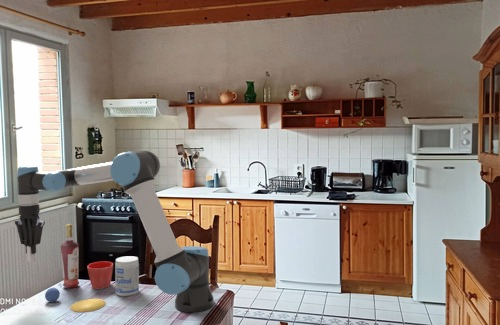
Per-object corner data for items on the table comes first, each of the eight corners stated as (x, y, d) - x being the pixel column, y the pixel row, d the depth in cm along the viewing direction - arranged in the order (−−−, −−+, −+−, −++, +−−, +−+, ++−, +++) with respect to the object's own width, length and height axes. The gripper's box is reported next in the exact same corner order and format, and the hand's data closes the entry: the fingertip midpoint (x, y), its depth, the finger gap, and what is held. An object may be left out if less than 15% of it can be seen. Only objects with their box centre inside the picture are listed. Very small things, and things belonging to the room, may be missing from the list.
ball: (60, 302, 176) (59, 289, 176) (45, 305, 174) (44, 291, 174) (59, 298, 181) (59, 285, 181) (45, 300, 179) (44, 287, 178)
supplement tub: (114, 297, 181) (113, 262, 180) (117, 289, 191) (116, 256, 190) (138, 296, 183) (137, 261, 182) (140, 288, 192) (139, 255, 191)
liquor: (72, 290, 190) (70, 226, 188) (58, 288, 192) (56, 225, 190) (83, 284, 197) (81, 223, 195) (70, 283, 199) (67, 222, 197)
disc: (107, 308, 170) (107, 307, 170) (71, 314, 165) (71, 314, 164) (103, 297, 182) (103, 296, 182) (69, 302, 176) (69, 302, 176)
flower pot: (106, 291, 189) (105, 268, 188) (83, 289, 191) (82, 267, 191) (118, 282, 199) (117, 261, 199) (96, 281, 202) (95, 260, 201)
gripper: (49, 203, 179) (51, 260, 181) (22, 202, 183) (25, 257, 184) (35, 206, 172) (37, 265, 174) (8, 205, 176) (10, 262, 177)
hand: (31, 261), depth 179 cm, fingers closed
